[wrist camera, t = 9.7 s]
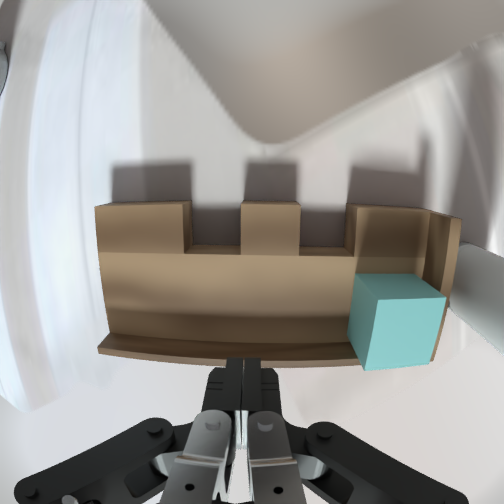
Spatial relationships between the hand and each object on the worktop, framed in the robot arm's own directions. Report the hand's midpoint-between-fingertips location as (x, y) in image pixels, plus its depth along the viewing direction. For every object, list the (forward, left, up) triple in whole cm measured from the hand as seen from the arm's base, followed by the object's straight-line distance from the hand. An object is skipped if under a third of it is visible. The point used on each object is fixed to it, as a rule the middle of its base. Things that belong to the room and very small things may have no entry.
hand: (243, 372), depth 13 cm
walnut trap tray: (-1, +1, -12) cm, 12 cm away
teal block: (+1, +10, -9) cm, 14 cm away
